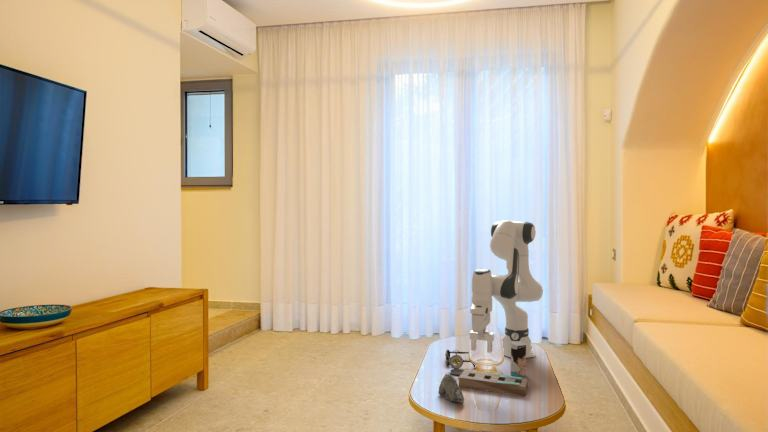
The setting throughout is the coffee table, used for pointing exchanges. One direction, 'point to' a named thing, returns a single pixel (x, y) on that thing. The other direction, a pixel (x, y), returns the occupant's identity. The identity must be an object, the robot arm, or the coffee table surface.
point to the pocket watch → (456, 367)
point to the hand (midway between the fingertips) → (481, 337)
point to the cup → (518, 359)
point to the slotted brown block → (494, 382)
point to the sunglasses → (457, 353)
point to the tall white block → (486, 337)
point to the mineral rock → (450, 389)
